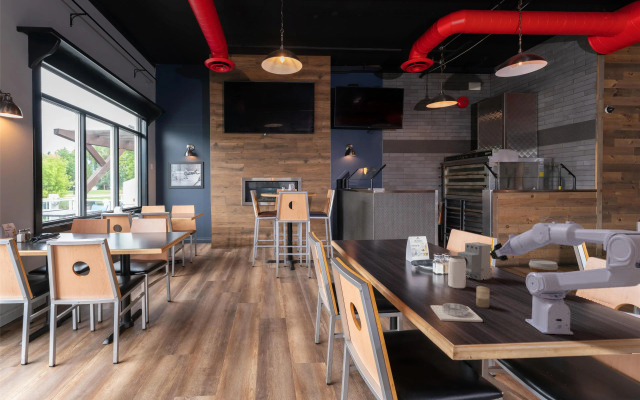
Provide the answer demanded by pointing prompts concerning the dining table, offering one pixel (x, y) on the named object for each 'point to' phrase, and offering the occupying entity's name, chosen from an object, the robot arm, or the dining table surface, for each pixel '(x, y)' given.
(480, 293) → the maple peg
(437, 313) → the peg holder
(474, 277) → the circuit breaker
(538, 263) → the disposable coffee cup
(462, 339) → the dining table surface
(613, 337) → the dining table surface
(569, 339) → the dining table surface
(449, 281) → the can
